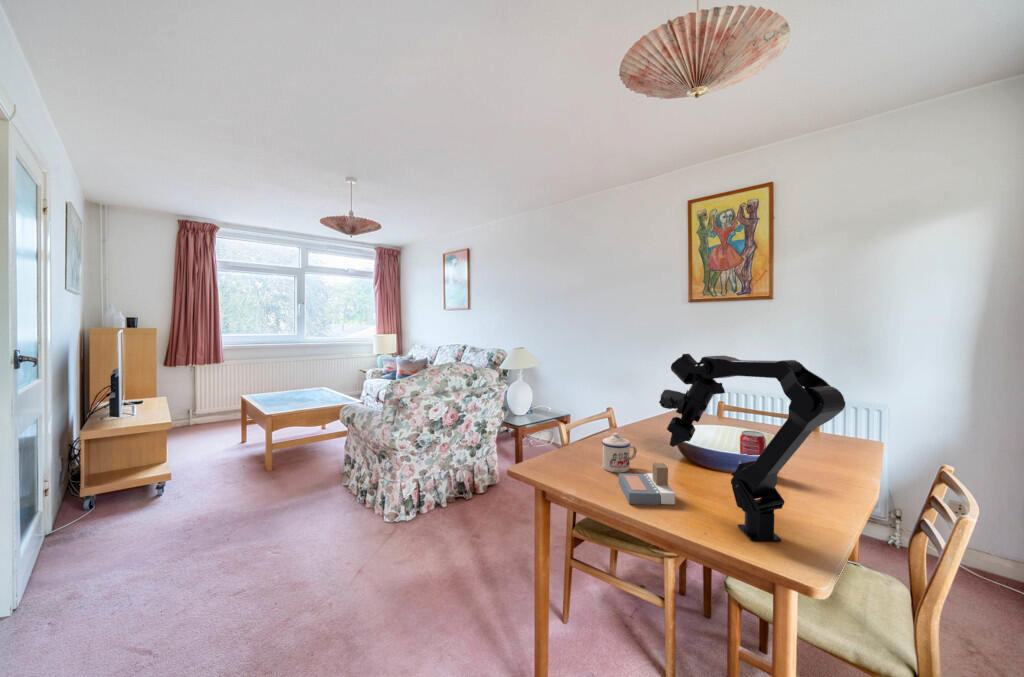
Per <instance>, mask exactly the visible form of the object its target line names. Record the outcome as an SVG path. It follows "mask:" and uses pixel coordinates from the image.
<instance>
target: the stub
mask: <svg viewBox="0 0 1024 677" xmlns="http://www.w3.org/2000/svg"><path fill="white" fill-rule="evenodd" d="M646 475H647V476H648V478H649V479H650V480H651V482H652V483H653V485H654V486H655V488H656V489H657V490H658V492H659V493H660V505H675V504H676V493H675V492H674V490H673V489H672V488H671V486H670V485H669V484H668V483H669V467H668V466H667V465H666V464H665V462H652V472H651V473H650V472H647V473H646Z"/></svg>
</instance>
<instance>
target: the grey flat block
mask: <svg viewBox="0 0 1024 677" xmlns="http://www.w3.org/2000/svg"><path fill="white" fill-rule="evenodd" d="M618 485H619V486H620V488H621V491H622V493H623V494H624V497H625V498H626V501H627V502H628V504H629V505H643V506H644V505H646V506H647V505H648V506H650V505H652V506H660V505H661V503H660V493H659V492H658V490H657V489H656V488H655V486H654V485H653V483H652V482H651V480H650V479H649V478H648V476H647V473H625V472H622V473H618Z"/></svg>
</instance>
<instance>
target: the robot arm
mask: <svg viewBox="0 0 1024 677" xmlns="http://www.w3.org/2000/svg"><path fill="white" fill-rule="evenodd" d="M670 371H671V372H672V373H674V375H675V376H676V377H678V379H679V380H680V381H681V382H682V383H683V384H685V385H691V386H690V387H689V390H688V389H687V390H686V392H685V393H684V392H681V391H677V390H671V389H664V390H663V391H662V393H661V394H660V400H659V401H658V403H659V404H660V406H661V407H662V408H664V409H667V410H672V409H674V410H675V413H677V414H679V415H681V417H679V416H674V417H673V416H672V419H671V420H670V422H669V424H668V425H667V428H666V430H667V431H668V432H669V433H671V437H670V440H669V441H670V442H669V446H671V447H672V448H674V447H676V446H678V445H680V444H682V443H684V442H690V441H691V439H692V438H693V436H694V434H695V432H696V428H695V426H694V424H693V423H694V422H696V423H699V421H700V419H701V418H702V415H703V414H704V412H705V411H706V410H707V407H708V405H709V404H710V401H712V398H713V397H714V395H719V394H720V395H721V394H725V393H726V391H725V388H724V386H723V383H722V382H717V380H716V379H724V378H725V379H727V378H735V377H749V378H754V377H755V378H768V379H769V378H770V379H776V380H777V381H778V382H779V384H780V386H781V389H782V391H783V393H784V395H785V396H786V397H787V398H788V399H789V401H790V403H789V405H788V417H787V419H786V420H785V422H784V423H783V425H781V427H780V428H779V430H778V431H777V432H776V434H775V435H774V436H773V438H772V439H771V440H770V442H769V443H768V444H766V448H765V449H764V451H763V452H762V453H761V455H760V456H759V457H758V458H757V460H756V461H750V462H745V463H740V462H739V465H737V468H736V470H735V471H734V472H733V473H731V474H730V475H731V476H732V478H731V480H730V484H731V489H732V492H733V496H734V499H735V504H736V506H737V508H740V509H741V510H742V512H744V524H740V523H739V524H737V527H738V529H739V530H740V531H741V532H742V533H743V534H744V535H745V536H746V537H747V538H748V539H749V540H750V541H752V542H782V538H781V537H780V536H778V535H777V534H776V533H775V510H781V509H783V507H784V505H785V500H784V498H783V497H782V495H781V494H780V493H779V491H778V490H777V488H776V486H777V484H778V473H779V472H780V471H781V470H782V469H783V468H784V466H785V465H786V464H787V463H788V461H789V460H790V459H791V458H792V456H794V454H795V453H796V452H797V450H798V449H799V448H800V447H801V446H802V444H804V442H805V441H806V439H808V437H809V436H810V435H811V434H812V432H813V431H814V430H815V429H817V428H819V427H820V426H822V425H824V424H826V423H828V422H830V421H831V420H833V419H834V418H835V417H836V416H838V415H839V414H840V413H841V412H842V411H844V408H845V407H846V403H847V402H846V401H845V398H844V395H843V393H842V392H841V391H840V390H839V389H837V388H835V386H831V385H830V384H829V382H827V381H826V380H825V379H823V378H822V377H820V376H818V375H817V374H815V373H814V372H812V371H810V370H809V369H807V368H806V367H805V366H804V365H803V364H802V363H800V362H799V361H798V360H795V359H785V360H784V359H783V360H753V359H751V360H749V359H748V360H746V359H738V358H737V357H735V356H734V357H732V356H728V355H709V356H708V355H706V356H705V355H704V356H703V357H701V358H700V360H699V362H698V361H696V360H695V358H693V356H692V355H691V354H690V353H683V354H682V355H681V357H678V358H677V359H676V360H674V361H673V362H672V363H671V365H670Z"/></svg>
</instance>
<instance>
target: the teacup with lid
mask: <svg viewBox="0 0 1024 677" xmlns="http://www.w3.org/2000/svg"><path fill="white" fill-rule="evenodd" d="M601 444H602V468H603V469H604V471H608V472H610V473H617V474H619V473H625V472H626V473H627V472H628V471H629V470H630V461H632V460H634V459H635V458H636V456H637V452H638V450H637V447H636V446H635V445H633V444H631V442H630V440H628V439H627V438H624V437H622V436H620V433H618V432H614V433H612V435H610V436H608V437H605V438H603V439H602V441H601ZM630 449H633V453H632V455H631V454H630V452H631V450H630ZM630 455H631V456H630Z"/></svg>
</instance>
